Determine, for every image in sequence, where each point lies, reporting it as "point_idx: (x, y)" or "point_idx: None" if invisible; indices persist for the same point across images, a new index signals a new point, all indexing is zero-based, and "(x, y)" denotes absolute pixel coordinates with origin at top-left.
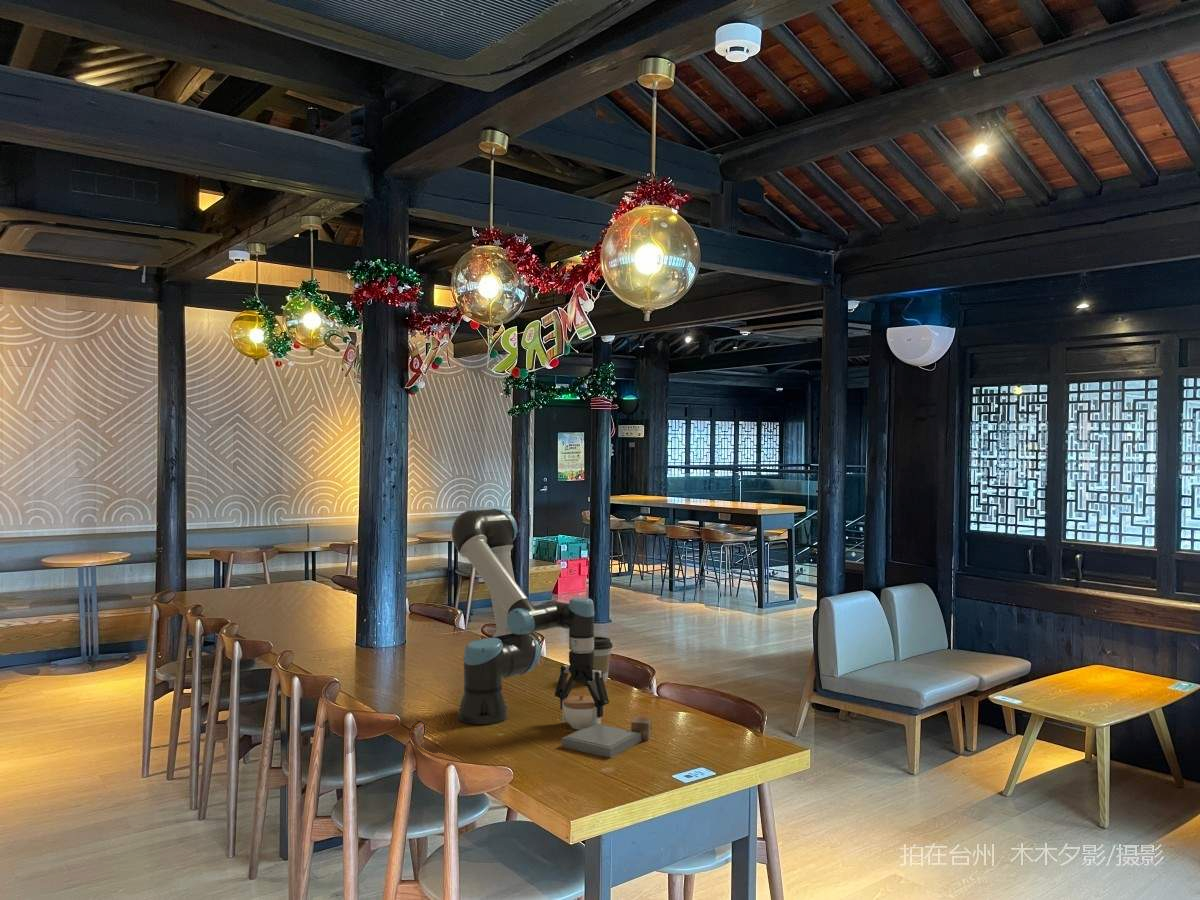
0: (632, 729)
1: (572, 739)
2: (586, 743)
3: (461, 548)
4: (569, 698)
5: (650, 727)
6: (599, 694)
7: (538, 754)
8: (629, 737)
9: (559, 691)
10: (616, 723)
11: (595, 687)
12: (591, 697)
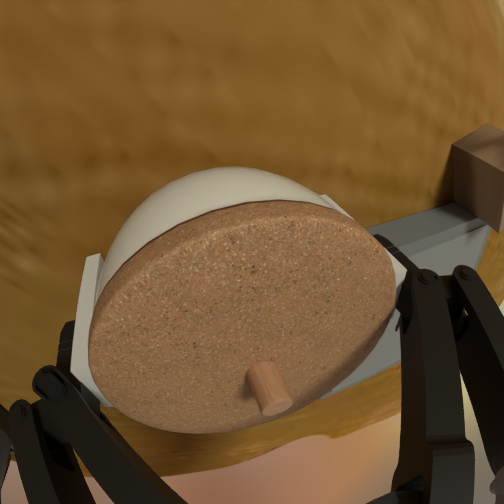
0: (481, 215)
1: (350, 384)
2: (392, 365)
3: None
4: (157, 409)
5: None
6: (464, 367)
7: (291, 416)
8: (475, 263)
9: (74, 462)
10: (336, 59)
11: (455, 402)
12: (291, 273)
